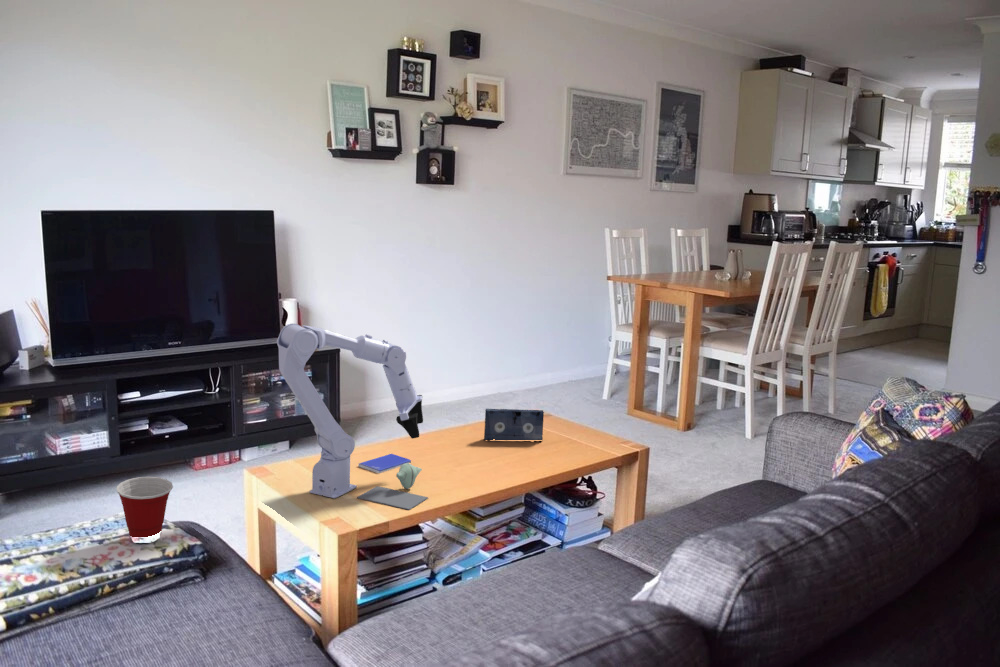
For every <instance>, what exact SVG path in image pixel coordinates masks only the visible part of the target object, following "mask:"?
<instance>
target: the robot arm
mask: <svg viewBox="0 0 1000 667" xmlns="http://www.w3.org/2000/svg"><path fill="white" fill-rule="evenodd" d="M276 344H277V347H278V370H279V373H280V374H281V376H282V377H283V378H284V380H285V382H286V384H287V385H288V387H289V389H290V390H291V392H292V393H293V395H294V396H295V397H296V399H297V401H298V403H299V404H300V406H301V408H302V409H303V411H304V412H305V414H306V415H307V417H308V418H309V420H310V421H311V423H312V425H313V427H314V432H315V434H316V437H317V438H316V439H317V444H318V446H319V447H320V448H321V452H320V459H319V460H318V461H317V462H316V463H315V464H314V465H313V467H312V477H311V478H312V487H311V489H310V490H309V493H311V494H315V495H319V496H322V495H323V496H322V497H326V498H332V499H337V498H339V497H340V496H343V495H345V494H347V493H349V492H351V491H352V490H355V489H356V488H358V487H357V484H352V483H351V456H352V454H353V452H354V451H355V448H356V447H355V445H356V444H355V440H354V438H353V436H352V435H350V434H347V433H346V432H345V431H344V429H343V428H342V426H341V425H340V424H339V423H338V422H337V421H336V420H335V418H334V416H333V415H332V414H331V411H330V410H329V409H328V407H327V406H326V403H325V402H324V400H323V398H322V397H321V396H320V393H319V392H318V391H317V389H316V387H315V386H314V384H313V383H312V380H311V379H310V378H309V376H308V375H307V372H306V371H305V367H306V363H307V362H308V361H309V359H310V358H311V356H313V354H314V353H315V351H316V350H317V349H318V350H321V349H323V348H324V347H325V346H330V347H333V348H338V349H343V350H345V351H346V350H347V351H351V353H352V355H353V357H355V358H357V359H360V360H364V361H367V362H372V363H376V364H380V365H382V368H383V371H384V374H385V377H386V380H387V382H388V386H389V387H390V390H391V393H392V396H393V398H394V401H395V405H396V408H397V410H398V415H397V416H396V419H395V420H396V422H397V424H399V425H400V426H401V427H402V428H404V430H405V431H406V433H407V434H408V435H409V438H410V439H417V438H420V429H419V426H418V425H419V424H423V423H424V416H423V406H422V403H423V394H417V391H416V389H415V387H414V384H413V381H412V378H411V376H410V374H409V371H408V367H407V365H406V360H407V352H406V351H404V349H402V347H400V346H398V345H396V344H393V343H392V342H391V343H390V342H389V341H388V340H385V339H382V340H380V339H379V340H378V339H376V338H373V336H372V335H369V334H365V335H359V336H357V337H356V338H353V337H350V336H346V335H343V334H340V333H336V332H334V331H331V330H327V329H324V328H322V327H316V326H310V325H299V324H298V323H289V324H286V325H285V326H283V328H281V330H280V332H279V334H278V338H277V340H276Z"/></svg>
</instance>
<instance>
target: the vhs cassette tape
mask: <svg viewBox="0 0 1000 667" xmlns="http://www.w3.org/2000/svg"><path fill="white" fill-rule="evenodd" d="M544 414H545V411H544V410H543V409H542V410H540V409H538V410H537V409H517V408H515V409H513V408H512V409H509V408H503V409H502V408H500V409H499V408H485V414H484V434H483V439H485V440H493V439H495V440H542V441H543V436H544V434H543V433H544V431H543V430H544ZM485 440H484V441H485Z"/></svg>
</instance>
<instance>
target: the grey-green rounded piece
mask: <svg viewBox="0 0 1000 667" xmlns="http://www.w3.org/2000/svg"><path fill="white" fill-rule="evenodd" d="M422 470H423V468H421V467H419V466H415V465H413V464H412V463H410V464H409V463H405V464H403V465H402V466H401V467H399V470H398V472H396V478H397V479H398V480H399V482H400V484H401V486H402V488H403V489H404V490H405V489H406V490H409V489H411V488H413V486H414V484H415V482H416V478H417V476H418V475H419V474H420V473H421V471H422Z"/></svg>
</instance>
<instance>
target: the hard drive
mask: <svg viewBox="0 0 1000 667" xmlns="http://www.w3.org/2000/svg"><path fill="white" fill-rule="evenodd" d="M405 463H410V464H412V460H411V459H409V458H406V457H403V456H399V455H397V454H394V453H389V454H386V455H383V456H379V457H377V458H373V459H369V460H365V461H362V462H360V463H359V462H358V468H361V469H365V470H368V471H370V472H373V473H377V474H381V473H385V472H389V471H392V470H394V469H397V468H400V467H401V466H402V465H403V464H405Z"/></svg>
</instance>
